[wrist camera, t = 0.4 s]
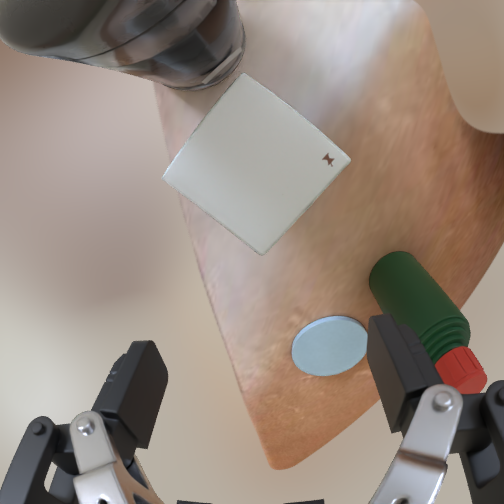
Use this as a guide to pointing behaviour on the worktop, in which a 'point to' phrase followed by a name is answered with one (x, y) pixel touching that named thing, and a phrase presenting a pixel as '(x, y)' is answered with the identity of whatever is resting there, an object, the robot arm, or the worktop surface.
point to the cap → (462, 371)
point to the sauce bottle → (418, 303)
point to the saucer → (329, 346)
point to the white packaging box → (255, 164)
